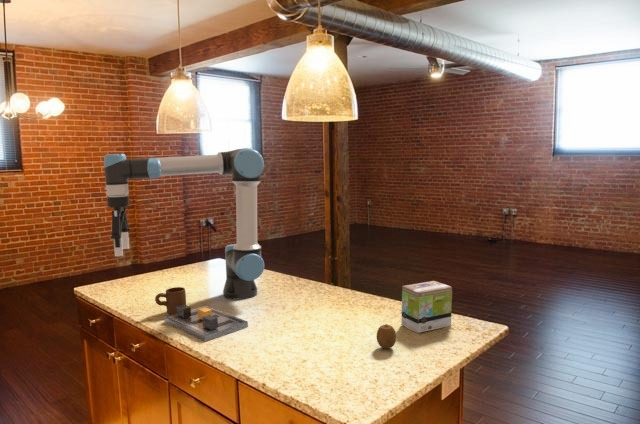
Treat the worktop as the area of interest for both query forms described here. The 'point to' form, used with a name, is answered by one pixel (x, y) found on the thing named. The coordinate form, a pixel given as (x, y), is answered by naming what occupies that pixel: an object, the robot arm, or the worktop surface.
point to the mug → (172, 299)
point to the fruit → (386, 336)
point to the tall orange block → (204, 312)
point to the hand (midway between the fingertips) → (122, 252)
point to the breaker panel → (200, 325)
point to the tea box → (426, 306)
